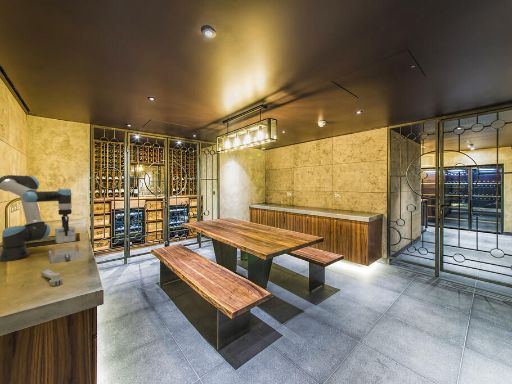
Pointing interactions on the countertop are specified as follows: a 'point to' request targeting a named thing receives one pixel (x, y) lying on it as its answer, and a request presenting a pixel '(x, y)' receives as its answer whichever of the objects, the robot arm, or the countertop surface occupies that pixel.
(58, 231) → the light bulb box
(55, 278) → the flashlight
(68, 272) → the countertop surface
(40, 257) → the countertop surface
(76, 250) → the orange-striped white panel
